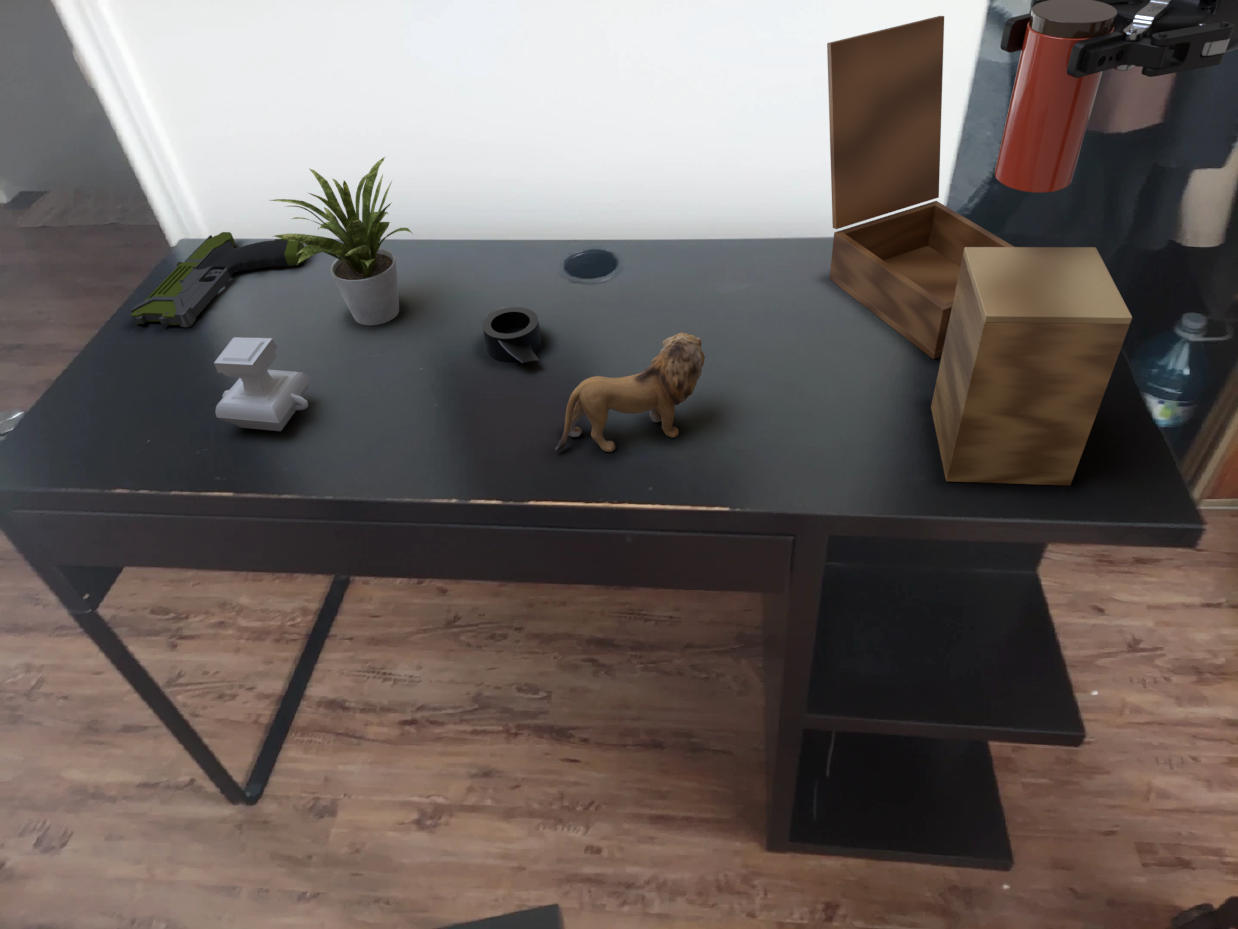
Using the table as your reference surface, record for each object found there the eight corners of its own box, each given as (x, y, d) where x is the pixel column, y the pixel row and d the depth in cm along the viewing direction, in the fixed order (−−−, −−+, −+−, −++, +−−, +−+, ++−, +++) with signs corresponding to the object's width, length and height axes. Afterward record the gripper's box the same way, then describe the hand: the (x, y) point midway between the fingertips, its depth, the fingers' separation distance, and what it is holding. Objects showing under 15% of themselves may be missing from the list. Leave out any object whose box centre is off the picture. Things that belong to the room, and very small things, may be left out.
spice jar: (1085, 174, 70) (1134, 6, 62) (1048, 199, 68) (1093, 28, 60) (1018, 154, 74) (1056, -8, 66) (980, 178, 71) (1014, 13, 63)
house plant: (352, 268, 111) (313, 137, 100) (457, 278, 108) (429, 143, 97) (291, 335, 101) (240, 197, 90) (405, 348, 98) (366, 206, 87)
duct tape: (465, 372, 94) (460, 348, 92) (491, 317, 101) (487, 295, 99) (539, 375, 92) (535, 352, 90) (559, 320, 100) (556, 297, 98)
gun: (248, 334, 102) (130, 330, 105) (318, 246, 115) (211, 245, 118) (240, 315, 100) (120, 312, 103) (311, 228, 114) (204, 227, 117)
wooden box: (1040, 320, 94) (1054, 270, 90) (933, 359, 90) (943, 309, 86) (927, 246, 106) (936, 200, 102) (829, 279, 102) (834, 232, 98)
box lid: (944, 15, 92) (916, 14, 95) (830, 43, 88) (805, 40, 92) (939, 197, 102) (913, 190, 105) (836, 229, 98) (813, 220, 101)
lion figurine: (691, 394, 89) (690, 316, 82) (715, 426, 85) (716, 346, 79) (547, 438, 85) (535, 359, 79) (566, 473, 81) (554, 393, 75)
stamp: (328, 400, 92) (303, 330, 86) (299, 443, 87) (270, 372, 81) (247, 394, 93) (217, 324, 88) (214, 436, 89) (180, 365, 83)
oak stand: (1044, 410, 84) (1094, 253, 73) (1070, 485, 76) (1130, 324, 65) (930, 407, 85) (963, 253, 74) (945, 481, 78) (984, 322, 67)
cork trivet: (1094, 253, 73) (1096, 246, 72) (1130, 324, 65) (1132, 317, 65) (963, 253, 74) (964, 246, 74) (984, 322, 67) (986, 315, 66)
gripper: (1282, 81, 66) (1104, 136, 61) (1120, 29, 76) (957, 73, 71) (1329, -34, 61) (1140, 16, 56) (1149, -74, 70) (976, -34, 66)
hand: (1038, 48), depth 63 cm, fingers closed on spice jar, 5 cm apart
